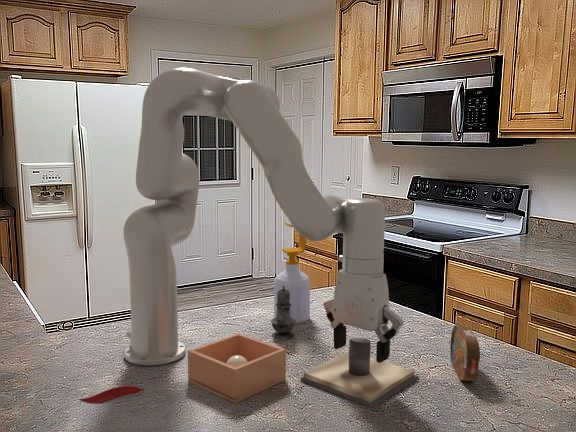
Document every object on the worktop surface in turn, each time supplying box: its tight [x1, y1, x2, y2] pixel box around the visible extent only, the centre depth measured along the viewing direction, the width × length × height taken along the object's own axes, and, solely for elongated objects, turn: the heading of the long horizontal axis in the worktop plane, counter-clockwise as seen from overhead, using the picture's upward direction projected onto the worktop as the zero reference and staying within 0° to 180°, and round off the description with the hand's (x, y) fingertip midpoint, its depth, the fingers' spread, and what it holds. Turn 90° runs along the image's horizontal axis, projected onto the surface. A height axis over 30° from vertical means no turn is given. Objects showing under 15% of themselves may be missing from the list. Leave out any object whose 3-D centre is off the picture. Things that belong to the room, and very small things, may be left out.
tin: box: [449, 324, 481, 382], centre depth 110 cm, size 15×3×8 cm, turn 174°
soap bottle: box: [273, 222, 311, 324], centre depth 141 cm, size 9×9×25 cm
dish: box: [187, 332, 287, 403], centre depth 105 cm, size 13×13×6 cm
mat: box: [300, 374, 419, 409], centre depth 106 cm, size 16×16×1 cm
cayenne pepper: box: [78, 385, 146, 404], centre depth 99 cm, size 12×5×2 cm, turn 100°
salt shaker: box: [270, 286, 297, 341], centre depth 129 cm, size 6×6×12 cm
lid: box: [303, 337, 415, 403], centre depth 106 cm, size 15×15×7 cm
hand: (360, 353), depth 106 cm, fingers open, 9 cm apart
